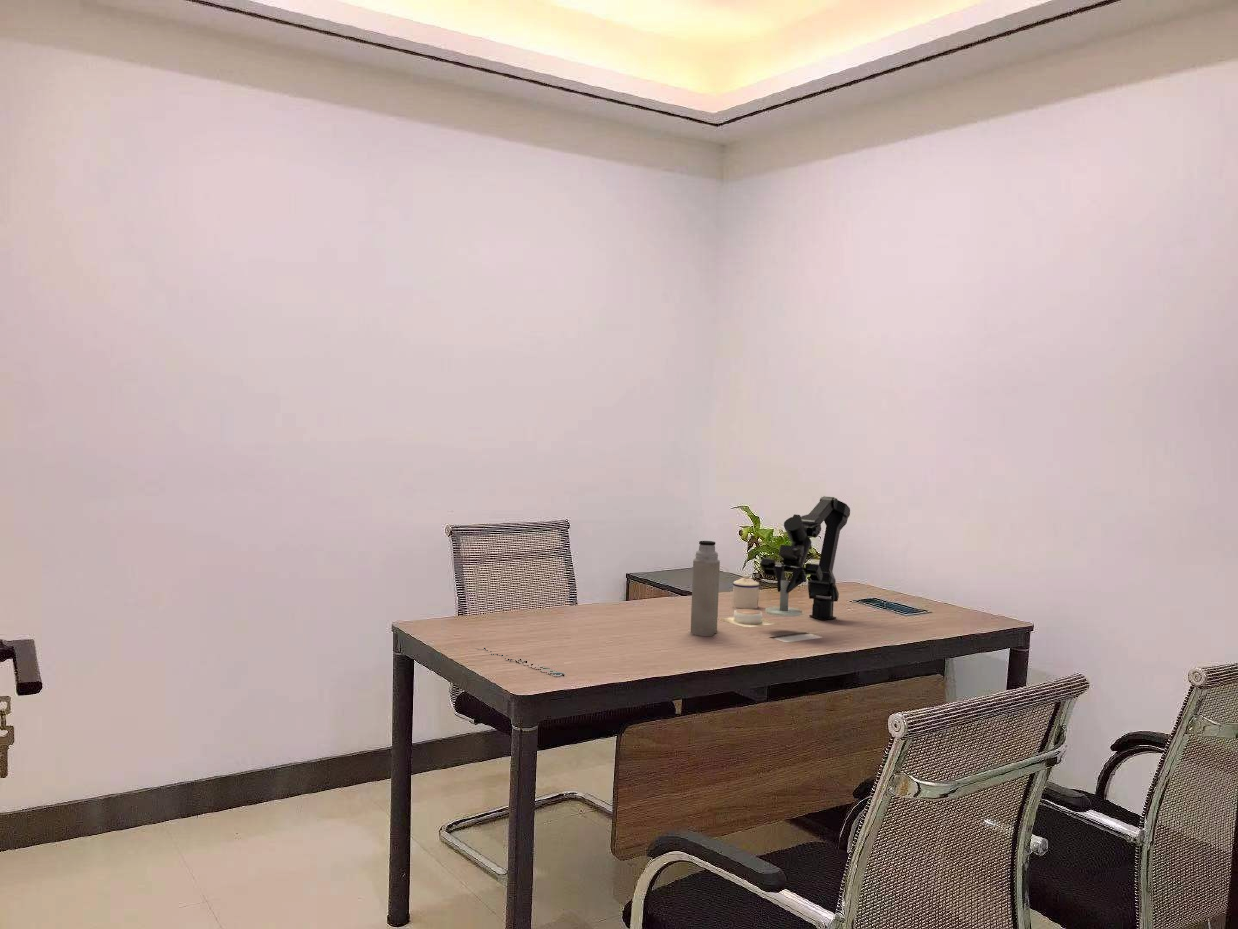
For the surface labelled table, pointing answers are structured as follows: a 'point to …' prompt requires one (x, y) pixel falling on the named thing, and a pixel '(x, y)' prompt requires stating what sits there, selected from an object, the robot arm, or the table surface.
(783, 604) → the lid
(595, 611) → the table surface
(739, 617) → the bowl
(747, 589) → the teacup with lid
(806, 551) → the robot arm
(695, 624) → the thermos bottle
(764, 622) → the board
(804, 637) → the mat
